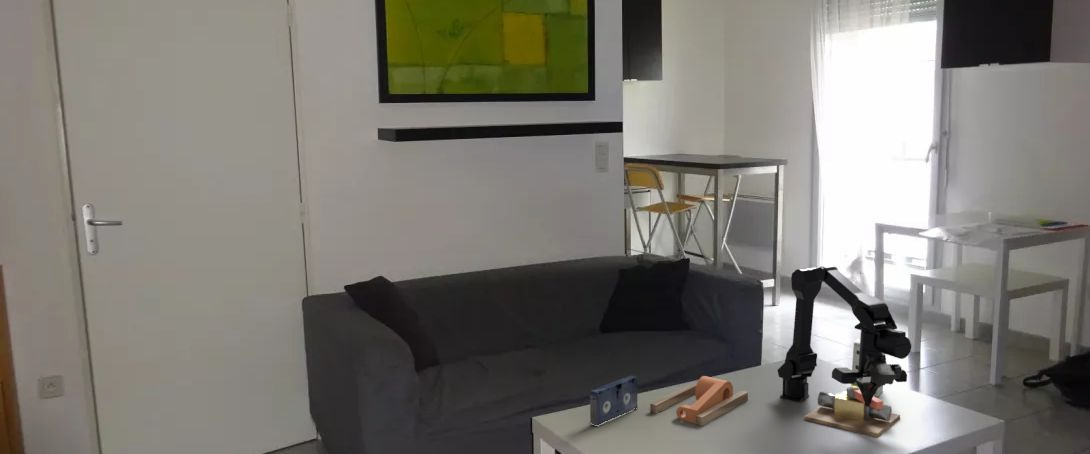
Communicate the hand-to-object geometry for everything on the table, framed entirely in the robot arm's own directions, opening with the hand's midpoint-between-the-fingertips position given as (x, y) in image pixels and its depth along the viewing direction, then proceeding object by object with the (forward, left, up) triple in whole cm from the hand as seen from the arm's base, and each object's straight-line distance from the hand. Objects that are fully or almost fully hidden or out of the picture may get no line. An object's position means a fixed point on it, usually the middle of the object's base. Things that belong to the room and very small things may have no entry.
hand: (867, 406), depth 218 cm
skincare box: (-11, +30, -7) cm, 33 cm away
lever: (-2, +4, 0) cm, 5 cm away
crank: (-41, -14, -7) cm, 44 cm away
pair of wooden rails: (-44, -12, -7) cm, 46 cm away
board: (-6, +5, -7) cm, 11 cm away
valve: (-6, +6, -7) cm, 11 cm away
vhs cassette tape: (-58, -34, -7) cm, 68 cm away
